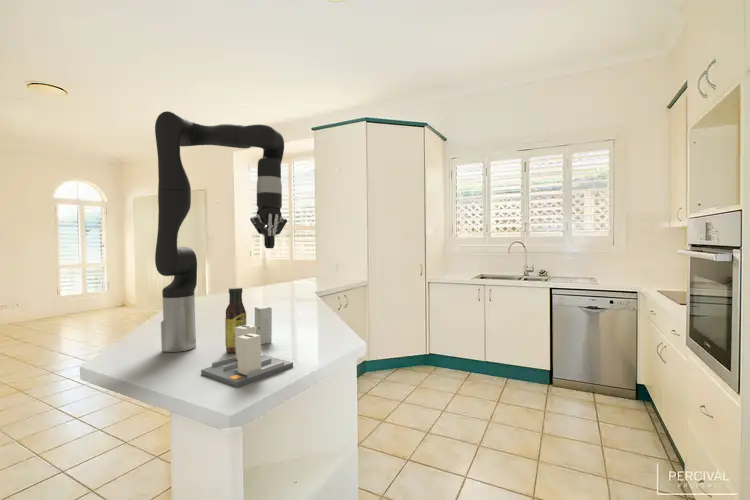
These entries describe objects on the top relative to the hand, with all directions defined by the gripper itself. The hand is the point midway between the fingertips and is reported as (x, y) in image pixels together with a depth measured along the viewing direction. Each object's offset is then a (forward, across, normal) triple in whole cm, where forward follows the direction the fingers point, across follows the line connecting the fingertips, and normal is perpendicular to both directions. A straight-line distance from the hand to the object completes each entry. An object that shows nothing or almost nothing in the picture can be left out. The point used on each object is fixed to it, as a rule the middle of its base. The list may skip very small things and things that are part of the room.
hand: (269, 248), depth 115 cm
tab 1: (+31, +12, +5) cm, 33 cm away
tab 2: (+31, +18, +15) cm, 38 cm away
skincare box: (+33, -6, -10) cm, 35 cm away
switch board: (+32, +15, +10) cm, 37 cm away
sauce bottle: (+33, +5, -9) cm, 34 cm away
